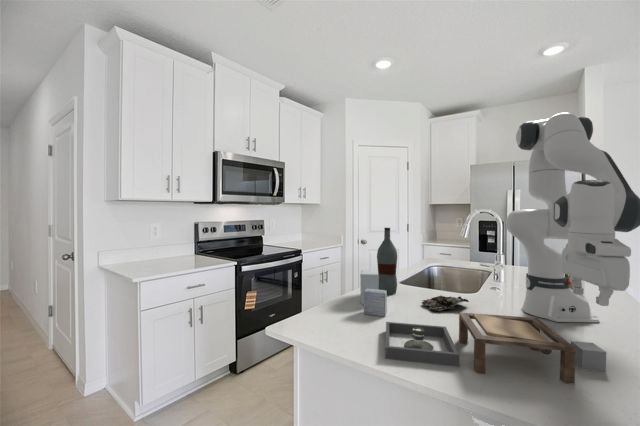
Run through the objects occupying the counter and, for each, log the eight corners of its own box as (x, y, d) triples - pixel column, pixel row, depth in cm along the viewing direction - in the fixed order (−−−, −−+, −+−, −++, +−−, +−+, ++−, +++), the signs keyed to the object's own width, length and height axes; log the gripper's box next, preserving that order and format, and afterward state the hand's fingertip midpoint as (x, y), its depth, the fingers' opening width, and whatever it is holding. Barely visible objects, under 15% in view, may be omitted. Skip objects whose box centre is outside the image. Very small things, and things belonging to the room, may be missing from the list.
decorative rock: (439, 305, 111) (412, 291, 125) (439, 321, 112) (412, 306, 126) (476, 296, 119) (447, 284, 132) (476, 311, 120) (446, 297, 133)
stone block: (592, 361, 79) (592, 342, 79) (605, 372, 74) (606, 351, 74) (570, 359, 80) (570, 340, 80) (581, 369, 75) (582, 349, 75)
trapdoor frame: (536, 347, 87) (536, 318, 87) (574, 384, 69) (575, 347, 69) (458, 339, 92) (459, 312, 91) (475, 372, 74) (476, 338, 73)
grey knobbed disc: (450, 352, 83) (450, 334, 83) (411, 359, 80) (411, 340, 80) (423, 334, 95) (423, 319, 95) (388, 339, 91) (388, 323, 91)
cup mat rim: (445, 336, 94) (445, 326, 94) (458, 366, 77) (458, 354, 76) (386, 330, 98) (386, 321, 98) (385, 358, 81) (385, 347, 80)
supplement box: (378, 300, 130) (378, 270, 130) (378, 305, 123) (378, 274, 122) (360, 299, 131) (361, 269, 131) (360, 304, 124) (360, 273, 124)
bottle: (392, 289, 146) (392, 226, 145) (400, 294, 137) (401, 228, 136) (373, 290, 145) (374, 227, 144) (380, 295, 136) (381, 228, 135)
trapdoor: (529, 334, 85) (530, 322, 85) (553, 357, 72) (555, 343, 72) (471, 325, 88) (473, 313, 88) (485, 345, 76) (487, 332, 75)
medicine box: (386, 313, 114) (387, 290, 114) (385, 317, 110) (385, 293, 110) (365, 310, 117) (366, 288, 117) (363, 314, 113) (363, 291, 113)
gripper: (554, 239, 87) (553, 287, 88) (603, 249, 67) (601, 311, 68) (579, 240, 86) (578, 289, 86) (637, 250, 66) (636, 313, 66)
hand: (589, 299), depth 77 cm, fingers open, 8 cm apart
